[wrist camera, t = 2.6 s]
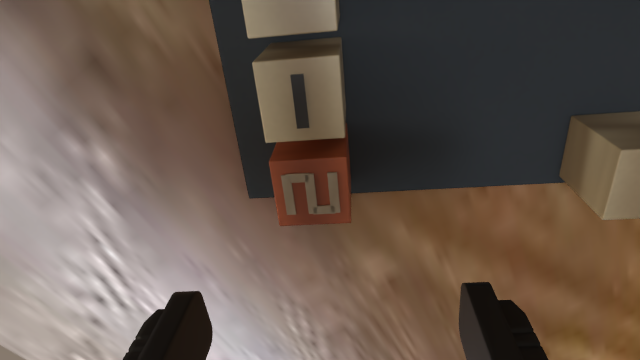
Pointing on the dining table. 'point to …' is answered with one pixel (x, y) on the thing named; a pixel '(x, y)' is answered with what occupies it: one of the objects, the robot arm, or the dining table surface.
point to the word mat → (452, 87)
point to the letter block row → (605, 163)
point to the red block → (312, 181)
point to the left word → (298, 69)
